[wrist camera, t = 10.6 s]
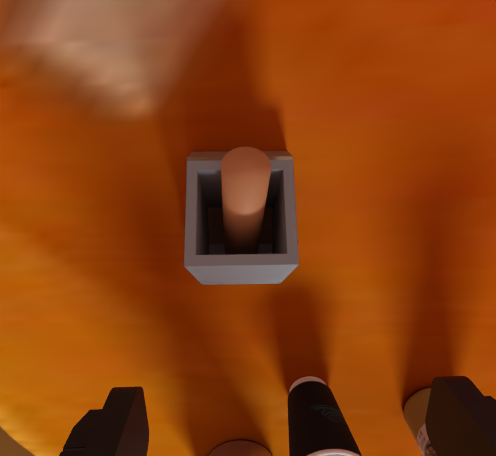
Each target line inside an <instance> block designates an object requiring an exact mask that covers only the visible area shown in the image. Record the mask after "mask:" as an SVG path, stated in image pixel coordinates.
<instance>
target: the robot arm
mask: <svg viewBox="0 0 496 456" xmlns="http://www.w3.org/2000/svg"><path fill="white" fill-rule="evenodd" d="M425 426H426V432H427V435H428V438H429V441H430V443H431V445H432V447H433V449H434V450H435V452H436V454H437V456H496V400H495V399H494V398H492V397H491V396H484V395H483V394H482V393H481V392H480V391H479V390H478V388H477V387H476V386H475V385H474V384H473V382H472V381H471V380H470V379H469V378H467V377H465V376H449V377H436V378H434V380H433V382H432V387H431V392H430V397H429V402H428V407H427V412H426V418H425ZM148 443H149V426H148V419H147V413H146V406H145V399H144V392H143V388H142V387H114V388H112V389H111V391H110V393H109V395H108V397H107V400H106V402H105V404H104V406H103V409H99V410H89V411H88V413H87V414H86V415H85V416H84V417H83V418H82V419H81V420H80V421H79V422H78V423H77V424H76V425H75V426H74V427H73V429H72V431H71V433H70V435H69V437H68V439H67V441H66V443H65V445H64V447H63V452H61V453H60V455H59V456H146V455H147V450H148ZM208 456H272V455H271V454H270V452H269V451H268V450H267V449H266V448H264V447H263V446H261V445H259V444H257V443H254V442H251V441H231V442H227V443H224V444H221V445H220V446H218V447H216V448H215V449H214V450H212V451H211V452H210V454H209V455H208Z"/></svg>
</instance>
